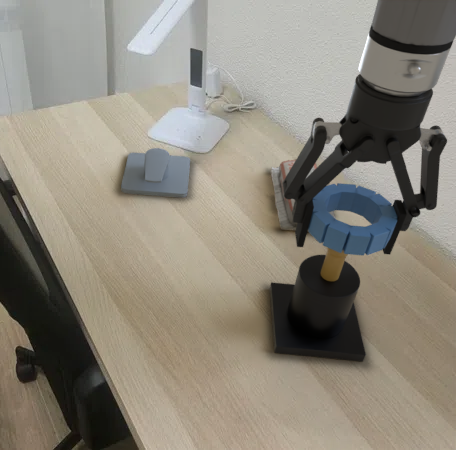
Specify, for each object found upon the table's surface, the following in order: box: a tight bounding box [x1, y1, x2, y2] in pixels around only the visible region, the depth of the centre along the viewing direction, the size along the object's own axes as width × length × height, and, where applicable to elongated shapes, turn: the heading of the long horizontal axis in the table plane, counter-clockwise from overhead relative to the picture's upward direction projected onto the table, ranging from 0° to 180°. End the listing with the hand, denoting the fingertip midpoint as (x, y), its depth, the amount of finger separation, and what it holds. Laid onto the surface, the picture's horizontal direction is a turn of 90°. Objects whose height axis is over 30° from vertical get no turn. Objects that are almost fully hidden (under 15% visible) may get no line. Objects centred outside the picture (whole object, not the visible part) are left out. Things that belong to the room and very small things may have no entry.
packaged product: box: [270, 158, 337, 232], centre depth 100 cm, size 18×5×10 cm
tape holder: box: [269, 247, 367, 362], centre depth 75 cm, size 12×12×16 cm
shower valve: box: [120, 147, 191, 199], centre depth 104 cm, size 12×6×15 cm
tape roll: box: [308, 182, 398, 256], centre depth 67 cm, size 10×10×3 cm
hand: (341, 243), depth 70 cm, fingers closed on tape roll, 10 cm apart
